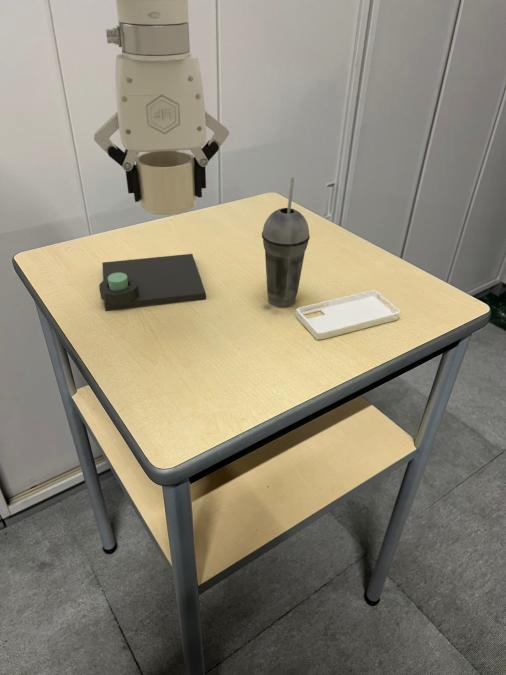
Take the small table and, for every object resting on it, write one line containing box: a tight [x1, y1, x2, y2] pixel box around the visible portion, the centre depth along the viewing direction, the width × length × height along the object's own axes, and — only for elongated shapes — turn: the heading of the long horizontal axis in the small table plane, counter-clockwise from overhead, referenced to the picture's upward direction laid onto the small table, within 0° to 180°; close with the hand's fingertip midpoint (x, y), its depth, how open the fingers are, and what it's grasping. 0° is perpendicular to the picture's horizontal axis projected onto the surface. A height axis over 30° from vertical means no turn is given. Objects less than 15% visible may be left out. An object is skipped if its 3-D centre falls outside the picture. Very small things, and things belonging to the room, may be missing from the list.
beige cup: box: [135, 150, 197, 216], centre depth 67 cm, size 7×7×6 cm
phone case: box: [295, 289, 402, 341], centre depth 81 cm, size 7×1×15 cm
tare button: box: [108, 273, 128, 291], centre depth 81 cm, size 3×3×2 cm
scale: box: [98, 253, 207, 312], centre depth 87 cm, size 16×14×3 cm
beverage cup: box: [261, 176, 311, 309], centre depth 79 cm, size 7×7×20 cm
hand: (167, 194), depth 68 cm, fingers closed on beige cup, 7 cm apart
